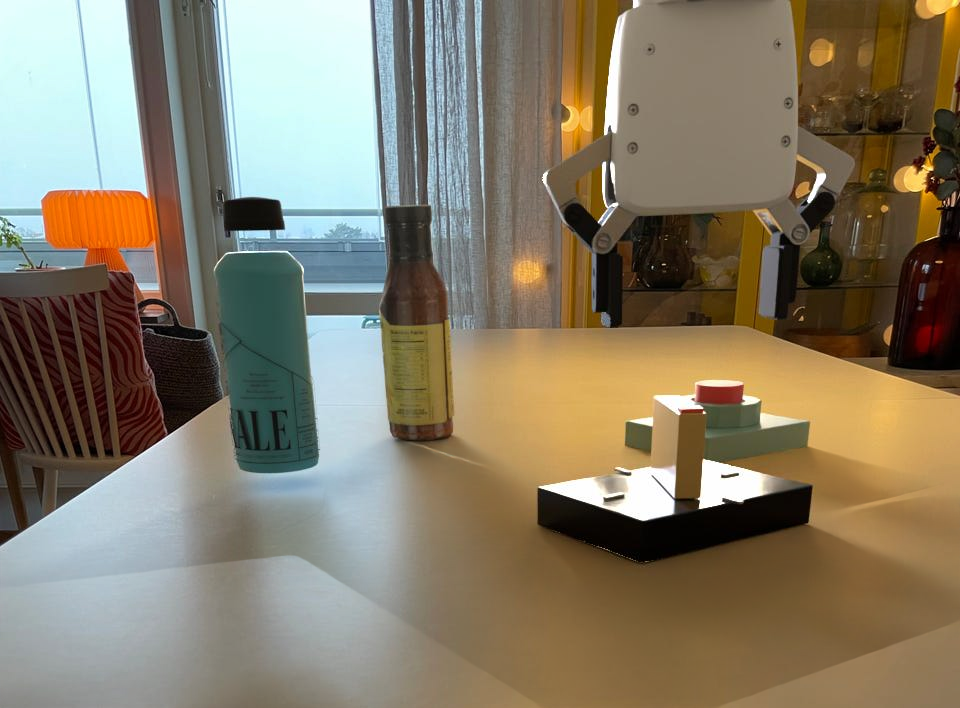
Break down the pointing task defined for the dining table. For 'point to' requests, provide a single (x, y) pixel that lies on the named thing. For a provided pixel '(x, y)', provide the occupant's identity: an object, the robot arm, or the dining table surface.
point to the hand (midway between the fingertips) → (691, 321)
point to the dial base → (672, 510)
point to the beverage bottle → (266, 347)
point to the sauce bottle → (415, 331)
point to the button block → (732, 431)
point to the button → (719, 392)
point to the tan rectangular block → (678, 446)
